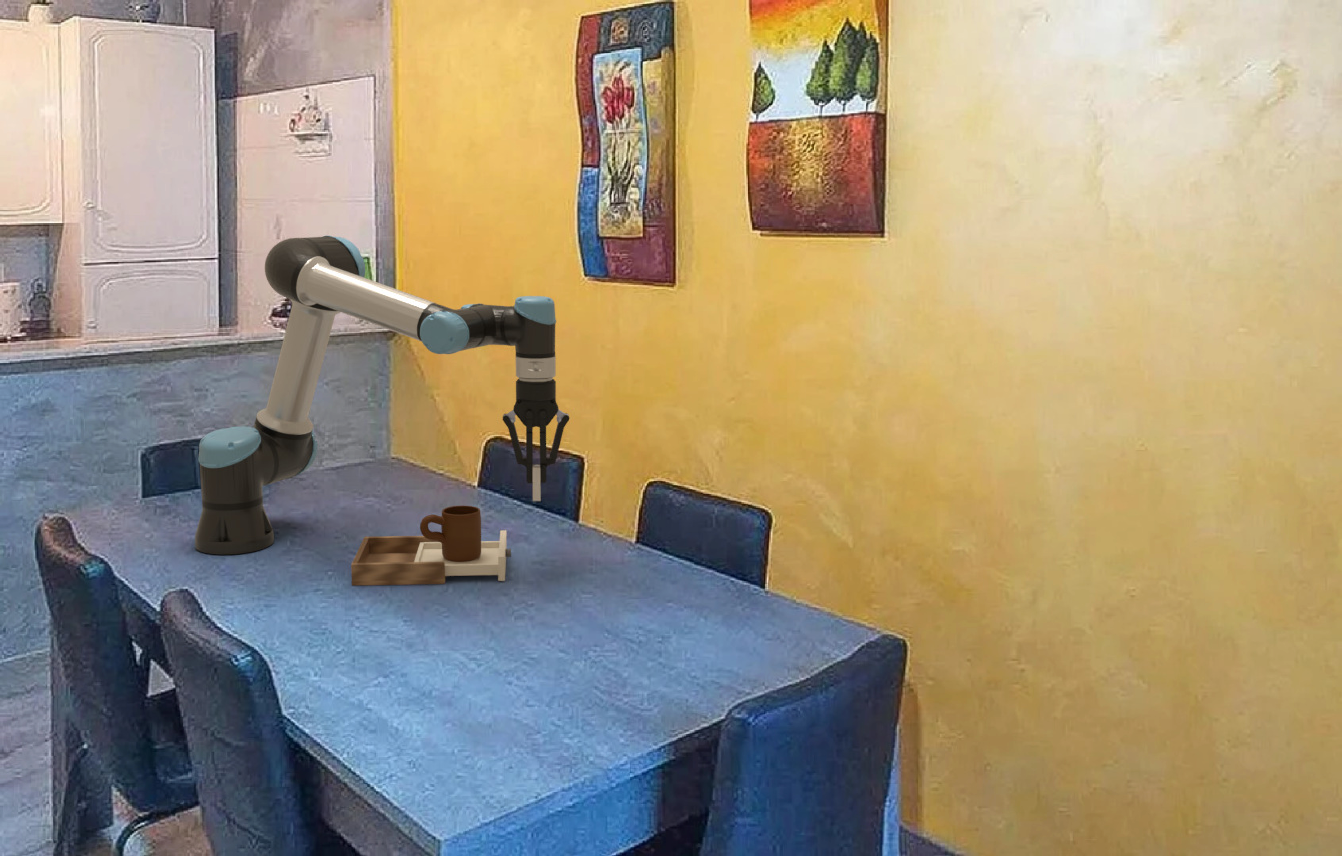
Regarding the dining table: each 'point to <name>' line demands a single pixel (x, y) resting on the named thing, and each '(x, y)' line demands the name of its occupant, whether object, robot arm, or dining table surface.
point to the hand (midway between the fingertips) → (536, 499)
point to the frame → (394, 562)
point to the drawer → (486, 564)
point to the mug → (456, 532)
